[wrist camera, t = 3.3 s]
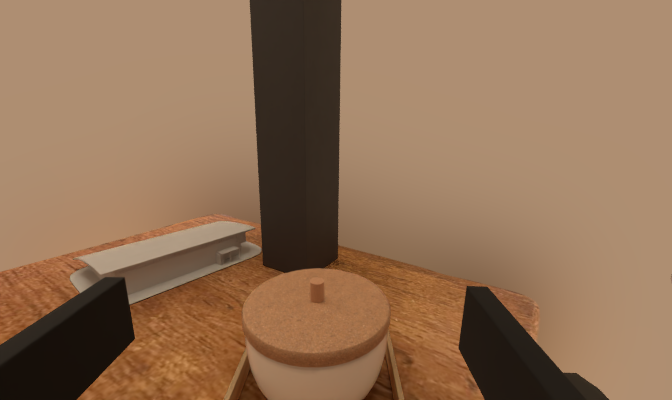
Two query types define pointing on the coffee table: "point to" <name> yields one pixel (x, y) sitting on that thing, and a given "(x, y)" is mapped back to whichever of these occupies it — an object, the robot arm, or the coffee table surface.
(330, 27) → the pedestal
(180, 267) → the beige covered tray
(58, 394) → the robot arm
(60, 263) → the coffee table surface
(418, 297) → the coffee table surface
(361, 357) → the trinket box
